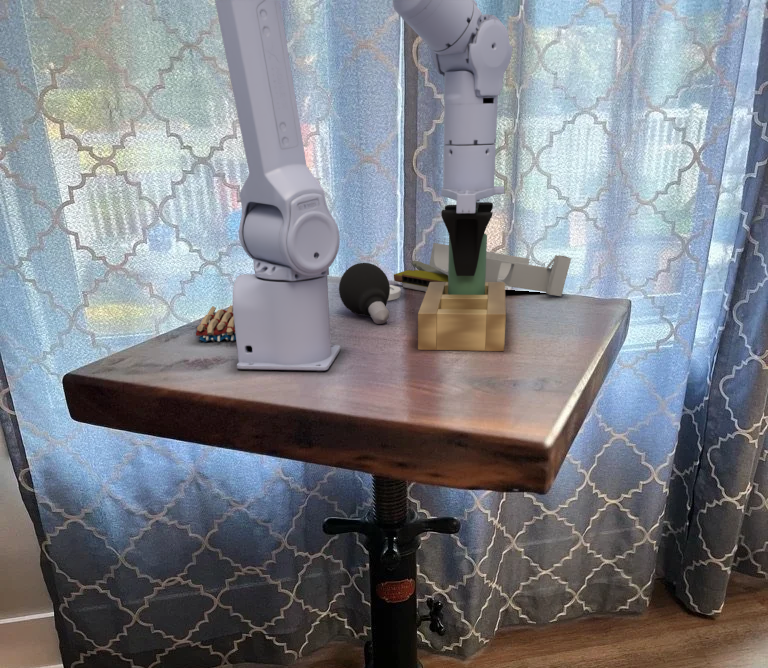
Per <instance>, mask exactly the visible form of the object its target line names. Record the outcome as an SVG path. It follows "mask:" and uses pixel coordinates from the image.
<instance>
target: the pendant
mask: <svg viewBox="0 0 768 668" xmlns="http://www.w3.org/2000/svg"><path fill="white" fill-rule="evenodd" d="M389 285H390V294H389V298H388V300H387V302H389V301H395V300H397V299H399V298H401V296H402V295H401V293H402V292H401V291H402V290H401V287H399V286H397V285H393V284H389Z"/></svg>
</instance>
